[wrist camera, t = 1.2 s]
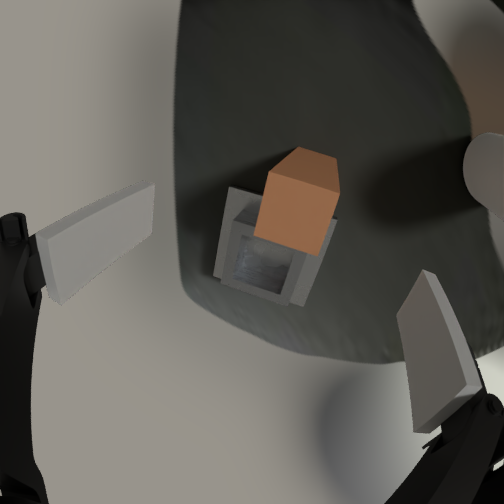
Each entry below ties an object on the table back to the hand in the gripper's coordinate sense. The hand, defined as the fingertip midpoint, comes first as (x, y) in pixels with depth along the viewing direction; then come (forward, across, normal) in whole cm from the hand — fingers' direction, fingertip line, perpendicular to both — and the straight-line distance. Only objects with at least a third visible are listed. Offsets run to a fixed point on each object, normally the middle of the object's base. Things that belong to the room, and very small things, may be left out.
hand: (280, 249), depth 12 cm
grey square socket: (+18, -2, -10) cm, 20 cm away
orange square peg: (+18, 0, 0) cm, 18 cm away
